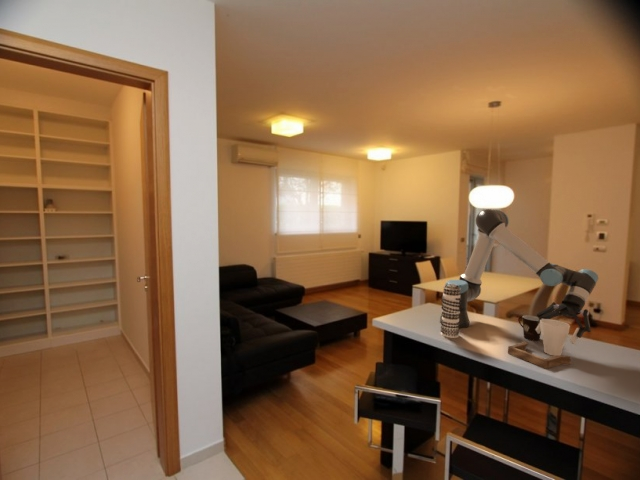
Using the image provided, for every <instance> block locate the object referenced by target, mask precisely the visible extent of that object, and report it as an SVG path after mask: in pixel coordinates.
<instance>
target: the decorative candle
mask: <svg viewBox="0 0 640 480" xmlns="http://www.w3.org/2000/svg"><path fill="white" fill-rule="evenodd" d="M460 289H461V288H459V286H458V285H455V284H446V285H445V284H444V286H443V292H442V296H441V314H442V312H443V314H442V320H441V322H442V323H441V322H440V325H441V326H440V335H441V336H442V337H445V338H449V339H456V338H459V336H460V335H459V334H460V332H459V331H460V328H458V327H459V325H458V324H459V323H460V322H459V313H460V309H459V307H461V306H460V305H459V304H461V302H459V300H462V299H461V298H460Z"/></svg>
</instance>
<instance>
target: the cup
mask: <svg viewBox="0 0 640 480" xmlns="http://www.w3.org/2000/svg"><path fill="white" fill-rule="evenodd" d="M570 328H571V325H570V323H567V322H565V321H562V320H557V319H553V318H551V319H541V320H540V329H541V335H540V336H541V338H542V343H543V344H542V345H543V352H544V353H545V354H546V353H547V355H549V356H552V357H554V356H557V355H559V356H562V353H563V348H564V345H565V344H566V341H567V338H568V336H569V332H570Z"/></svg>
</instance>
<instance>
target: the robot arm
mask: <svg viewBox="0 0 640 480" xmlns="http://www.w3.org/2000/svg"><path fill="white" fill-rule="evenodd" d="M509 224H510V220H509V216H508V215H507V214H506V212H504V211H502V210H500V209H492V208H490V209H489V208H488V209H483V210H481V211H480V212H479V213H478V214H477V215H476V217H475V225H476V227H477V228H478V229H477V232H478V237H477V240H476V242H475V245H474V248H473V250H472V251H471V255H470V258H469V260H468V263H467V266H466V269H465V271H464V273H462V274H460V275H459V278H458V279H449V280H447V281H446V282H445V284H444V286H445V285H446V284H455V285H458V286H459V288H461V289H460V298H461V299H462V300H459V302H461V304H459V305H460V306H461V307H459V309H460V313H459V322H460V323H459V324H458V325H459V327H458V328H459V329H461V328H468V327H470V326H471V325H470V324H471V321H470V317H469V314H468V302H470V301H474V300H476V299H477V298H478V297H479V296H480V294H481V293H482V287H481V286H482V284H483V283H482V280H481V277H482V275H483V272H484V271H485V268H486V266H487V262H488V260H489V258H490V255H491V253H492V250H493V247H494V246H495V243H496V242H498V243H499V244H500V245H501V246H502V247H504V249H506V250H507V251H508V252H510V253H511V254H512V255H513V256H514V257H515V258H517V259H518V260H519V261H520V262H521V263H522V264H523V265H525V266H526V267H527V268H528V269H530V270H531V271H532V272H533V273H535V275H536V276H538V277H539V279H540V281H541V283H542V284H544V285H545V286H549V287H555V286H558V285H561V284H563V285H566V286H567V287H569V288H568V290H567V292H566V293H565V296H564V297H563V298H562V301H561V303H560V304H557V303H556V302H555V301H554V302H551V304H550V305H549V306H547V307H545V308H544V309H543V310H541V311H539V312H538V313H537V314H536V317H538V318H539V321H538V322H537V325H538V326H537V328H536V329H535V330H536V332H537V333H538V334H540V332H541V329H540V320H541V319H553V318H555V317H561V316H563V317H568V318H574V320H575V322H576V324H577V326H578V327H576V329H575V330H574V333H572V335H571V338H570V339H569V341H570V342H571V344H572V345H576V343H577V340H578V339H579V338H580V339H581V338H582V336H583V335H584V333H586V332H587V333H591V332H592V331H591V324H590V320H589V316H590V312H589V310H588V309H584V307H585V305H586V303H587V302H588V300H589V298H590V296H591V294H592V292H593V290H594V288H596V285H597V283H598V280H599V275H598V273H596V272H595V271H593V270H591V269H585V268H582V269H580V270H579V271H577V270H573V269H570V268H568V267H564V266H561V265H559V264H555V263H550V262H549V261H548V260H547V259H546V258H544V257H543V256H542V255H540V253H538V252H537V251H536V250H535V249H533V247H531V246H530V245H528V244H527V243H526V242H525V241H524V240H523V239H521V238H520V237H519V236H517V235H516V234H515V233H514V232H512V231H511V230H510V229H509V228H508V226H509ZM583 309H584V310H583ZM442 314H443V312H442V311H441V315H440V317H439V323H440V324H441V323H442V322H441V320H442ZM581 314H582V316H583V323H584V326H583V324H582V322H581V321H580V319H579V317H578V315H581Z"/></svg>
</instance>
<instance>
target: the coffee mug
mask: <svg viewBox="0 0 640 480" xmlns="http://www.w3.org/2000/svg"><path fill="white" fill-rule="evenodd" d="M520 319H522V323H521V320H520ZM538 321H539V318H538V317H537V316H534V315H522V316H519V317H518V323H519V325H520V326H521V328H523V330H522V331H523V338H524V339H525V340H528V341H532V340H533V341H534V342H538V340H539V341H540V339H541V336H542V335H541V332H540V334H538V333H537V332H536V330H535V329H536V328H537V326H538V325H537V322H538Z"/></svg>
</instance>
